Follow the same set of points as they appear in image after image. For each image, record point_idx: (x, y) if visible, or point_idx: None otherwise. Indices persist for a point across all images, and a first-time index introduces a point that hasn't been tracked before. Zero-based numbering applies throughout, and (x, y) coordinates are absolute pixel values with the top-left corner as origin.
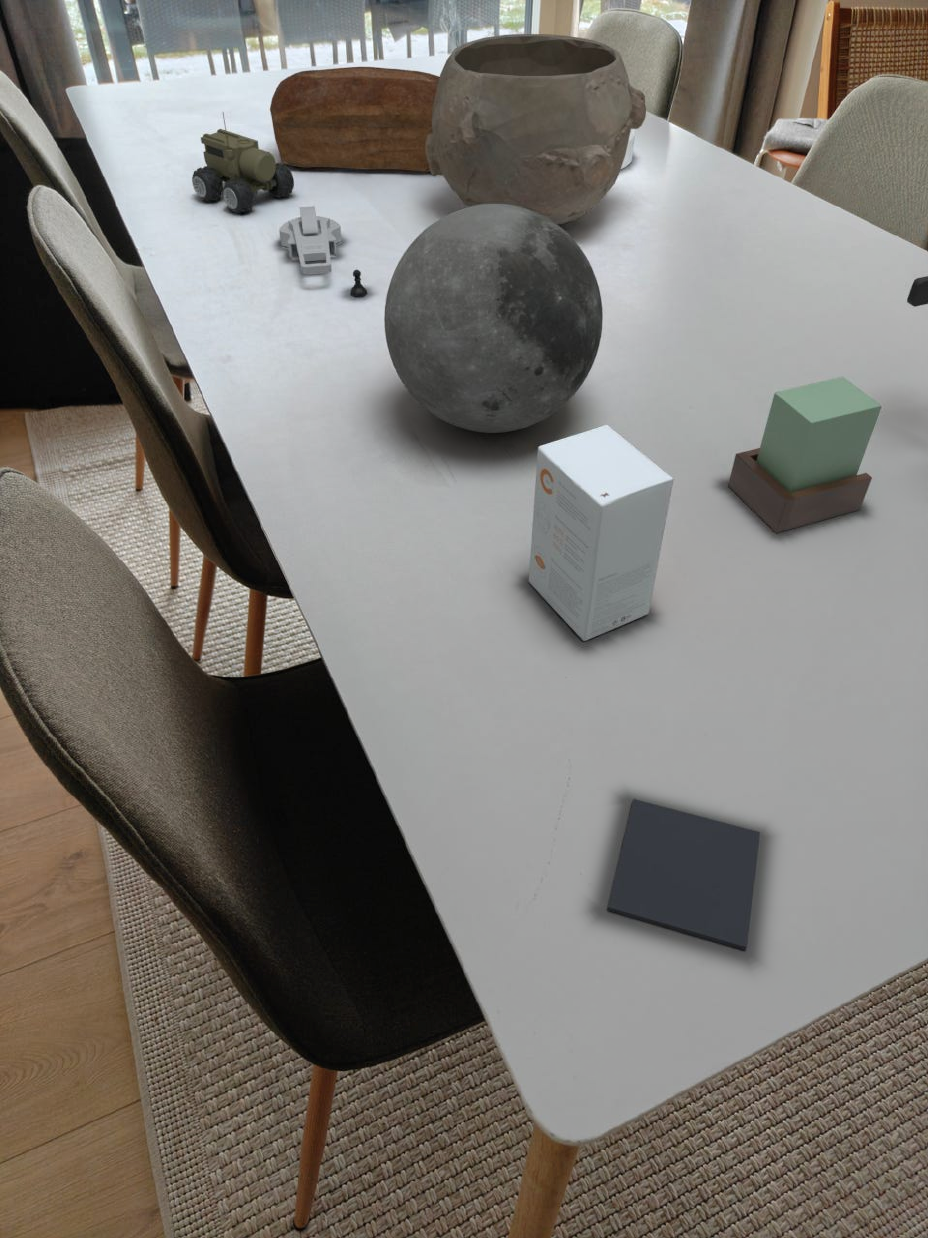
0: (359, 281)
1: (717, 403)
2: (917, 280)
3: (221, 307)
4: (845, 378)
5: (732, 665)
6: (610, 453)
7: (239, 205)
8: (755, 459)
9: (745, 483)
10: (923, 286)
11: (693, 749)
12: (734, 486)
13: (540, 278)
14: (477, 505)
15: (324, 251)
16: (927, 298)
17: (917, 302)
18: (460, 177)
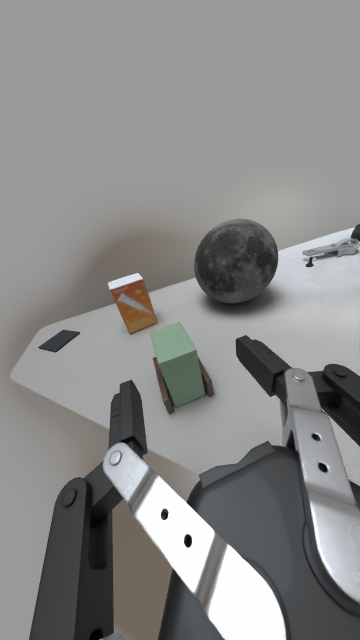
0: (310, 261)
1: None
2: (244, 336)
3: (278, 255)
4: (193, 350)
5: (102, 351)
6: (127, 280)
7: (351, 237)
8: None
9: None
10: (240, 345)
11: (84, 342)
12: None
13: (206, 243)
14: (185, 303)
15: (320, 250)
16: (248, 366)
17: (240, 359)
18: None
